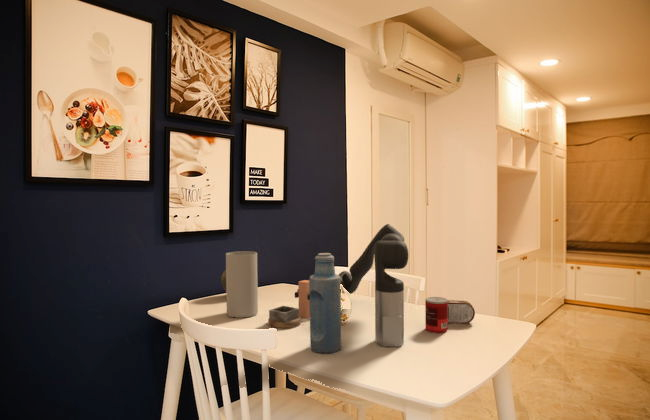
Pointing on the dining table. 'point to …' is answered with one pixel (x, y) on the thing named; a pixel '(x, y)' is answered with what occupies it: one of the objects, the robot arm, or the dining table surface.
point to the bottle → (325, 306)
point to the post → (304, 299)
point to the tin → (460, 312)
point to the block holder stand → (284, 317)
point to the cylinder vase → (241, 284)
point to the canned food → (436, 314)
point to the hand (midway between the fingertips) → (301, 296)
